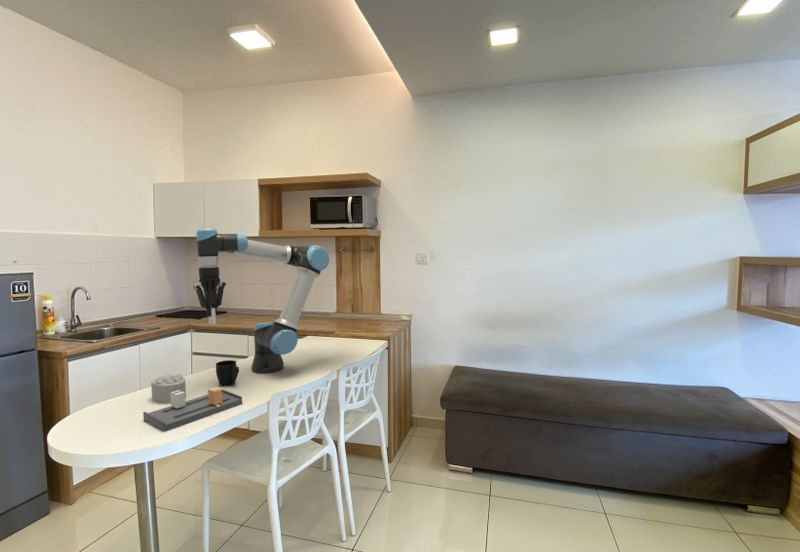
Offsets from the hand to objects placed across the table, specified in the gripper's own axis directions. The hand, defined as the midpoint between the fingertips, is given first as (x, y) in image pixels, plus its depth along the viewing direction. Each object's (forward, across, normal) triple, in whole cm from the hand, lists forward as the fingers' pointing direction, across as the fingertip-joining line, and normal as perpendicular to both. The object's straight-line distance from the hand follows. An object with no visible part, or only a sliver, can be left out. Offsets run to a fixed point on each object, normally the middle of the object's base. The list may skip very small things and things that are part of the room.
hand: (212, 323), depth 163 cm
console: (+28, +17, +14) cm, 36 cm away
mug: (+29, -7, -1) cm, 29 cm away
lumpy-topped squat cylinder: (+28, +15, -7) cm, 33 cm away
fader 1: (+25, +21, +10) cm, 34 cm away
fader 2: (+26, +12, +18) cm, 33 cm away
